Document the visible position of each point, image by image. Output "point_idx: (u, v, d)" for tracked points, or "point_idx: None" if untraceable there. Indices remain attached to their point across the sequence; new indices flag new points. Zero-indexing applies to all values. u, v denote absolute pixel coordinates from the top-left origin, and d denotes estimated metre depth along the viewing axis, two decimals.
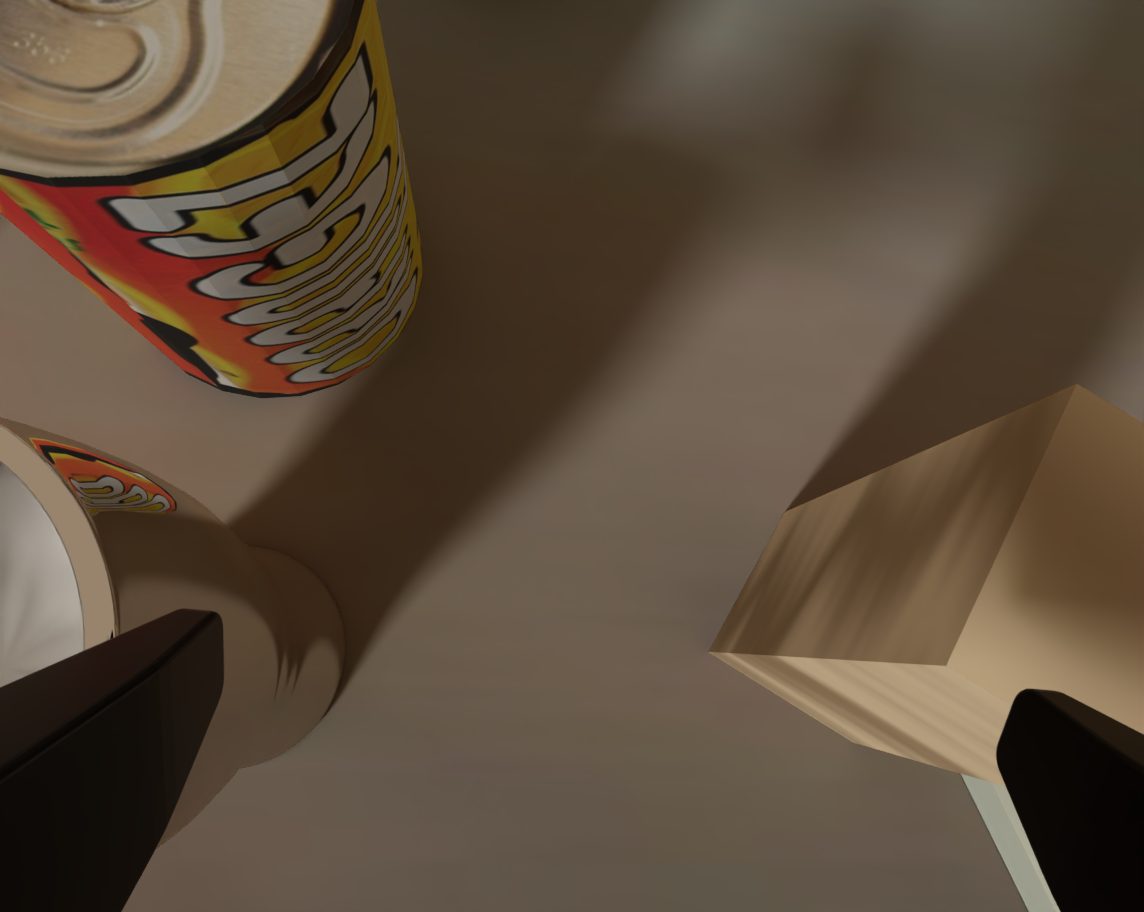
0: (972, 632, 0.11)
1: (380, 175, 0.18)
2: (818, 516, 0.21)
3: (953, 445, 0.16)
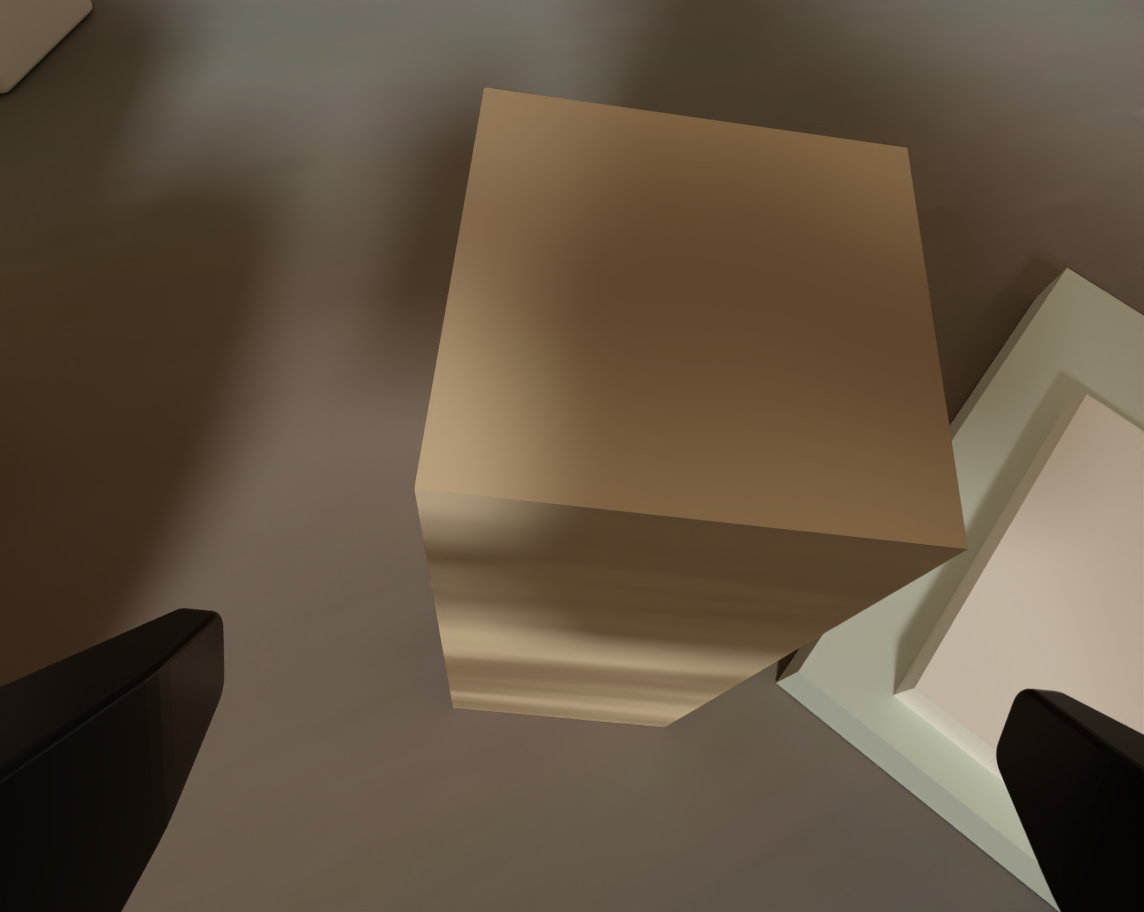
0: (440, 426, 0.07)
1: None
2: None
3: None
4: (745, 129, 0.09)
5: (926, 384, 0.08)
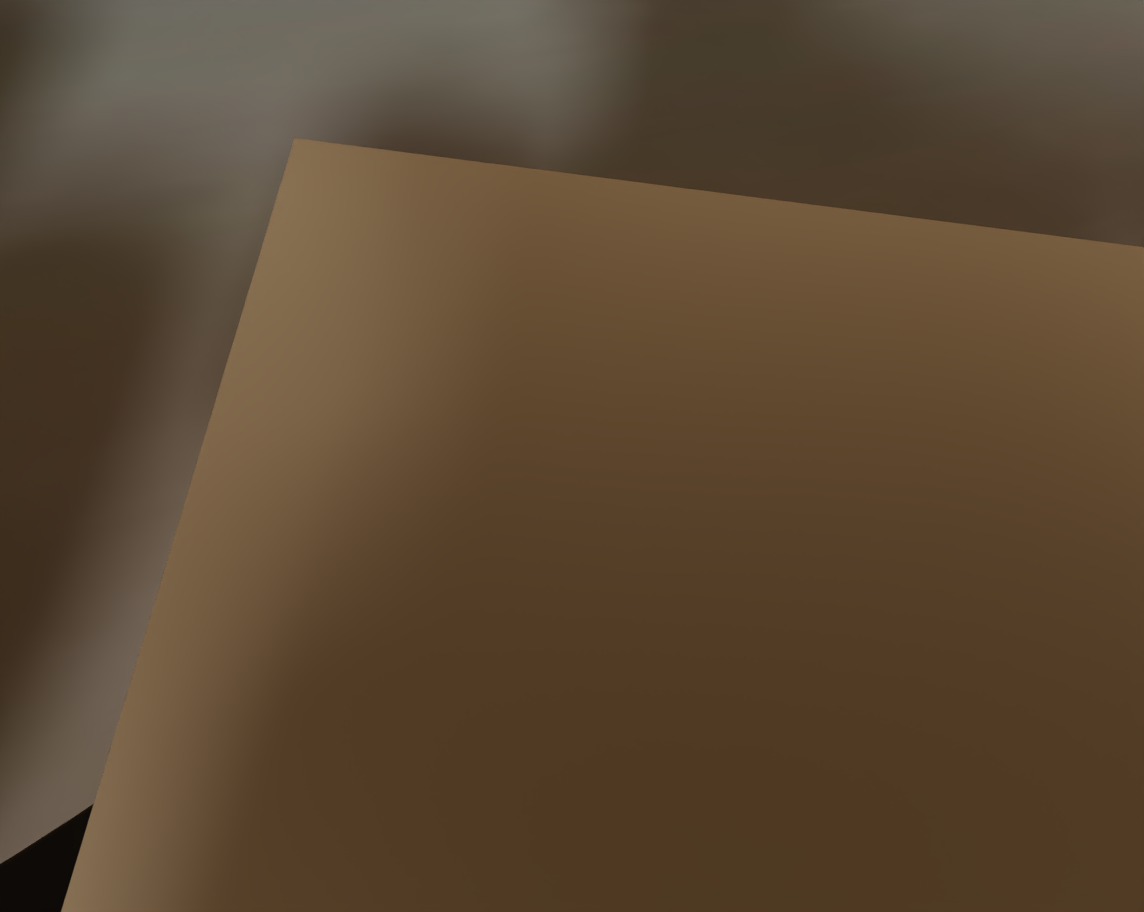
0: None
1: None
2: None
3: None
4: (962, 235, 0.04)
5: None
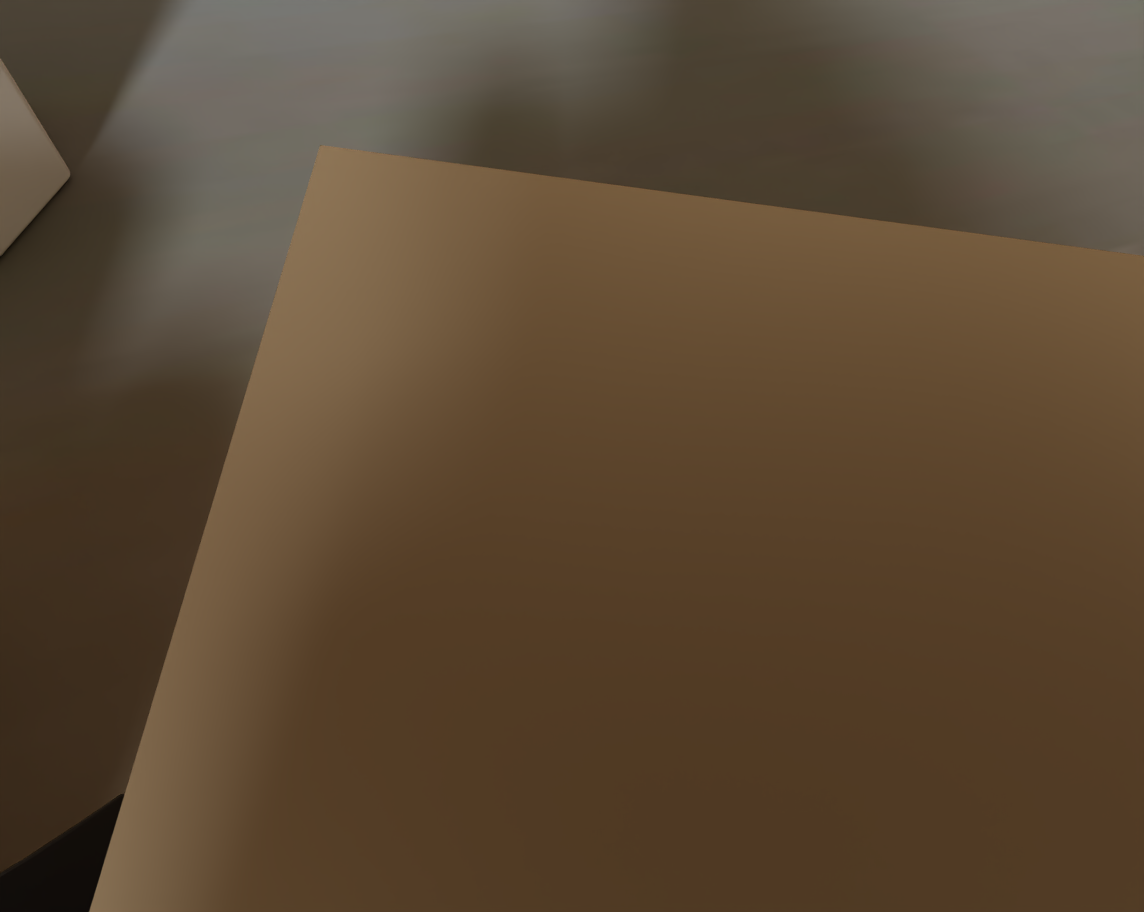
0: None
1: None
2: None
3: None
4: (963, 244, 0.04)
5: None
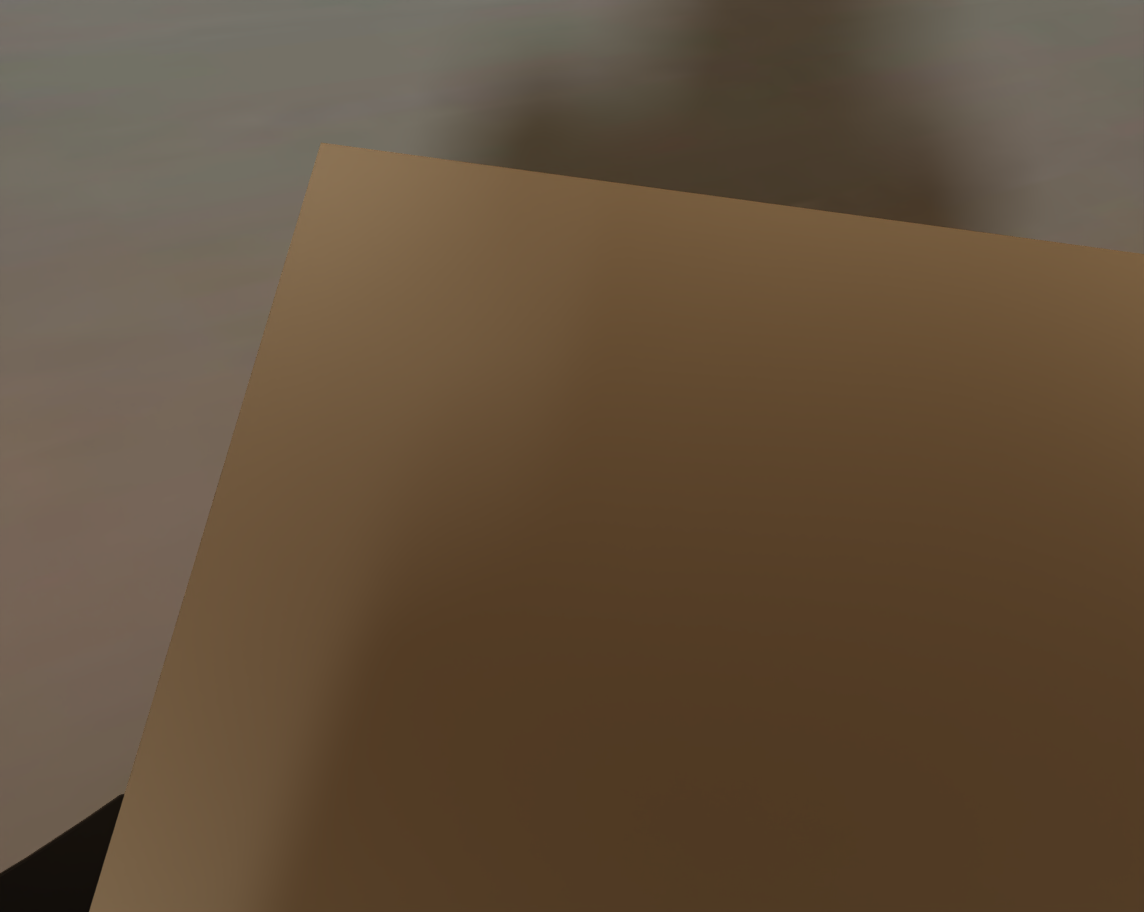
0: None
1: None
2: None
3: None
4: (961, 241, 0.04)
5: None
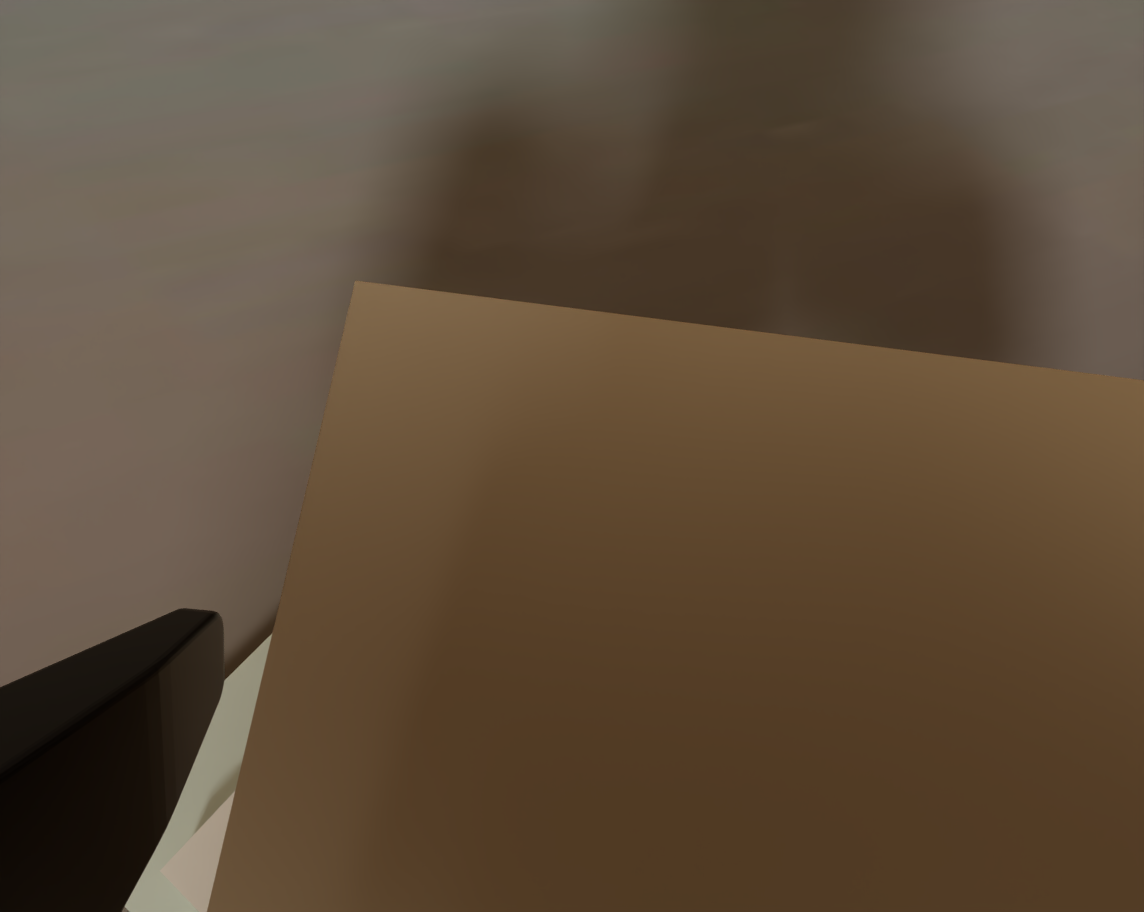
0: None
1: None
2: None
3: None
4: (899, 359, 0.04)
5: None
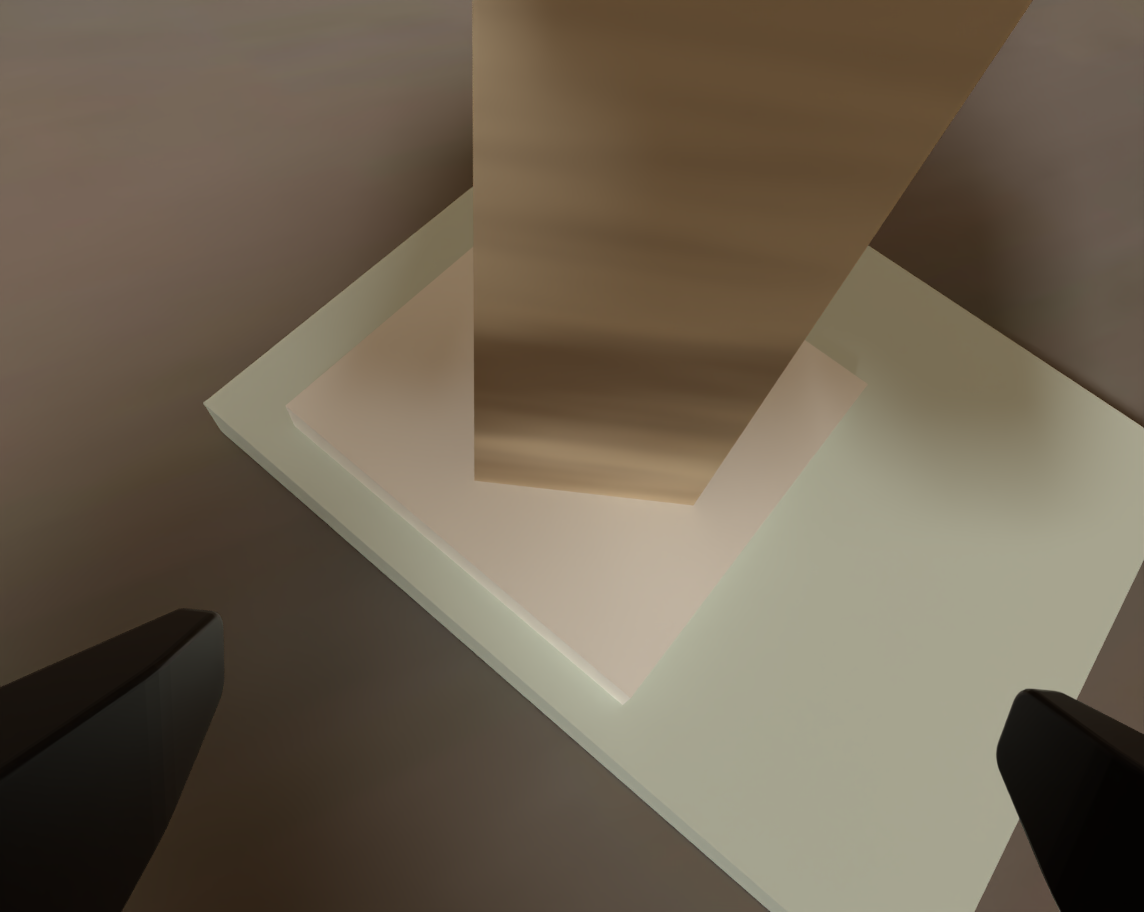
0: None
1: None
2: None
3: None
4: None
5: None
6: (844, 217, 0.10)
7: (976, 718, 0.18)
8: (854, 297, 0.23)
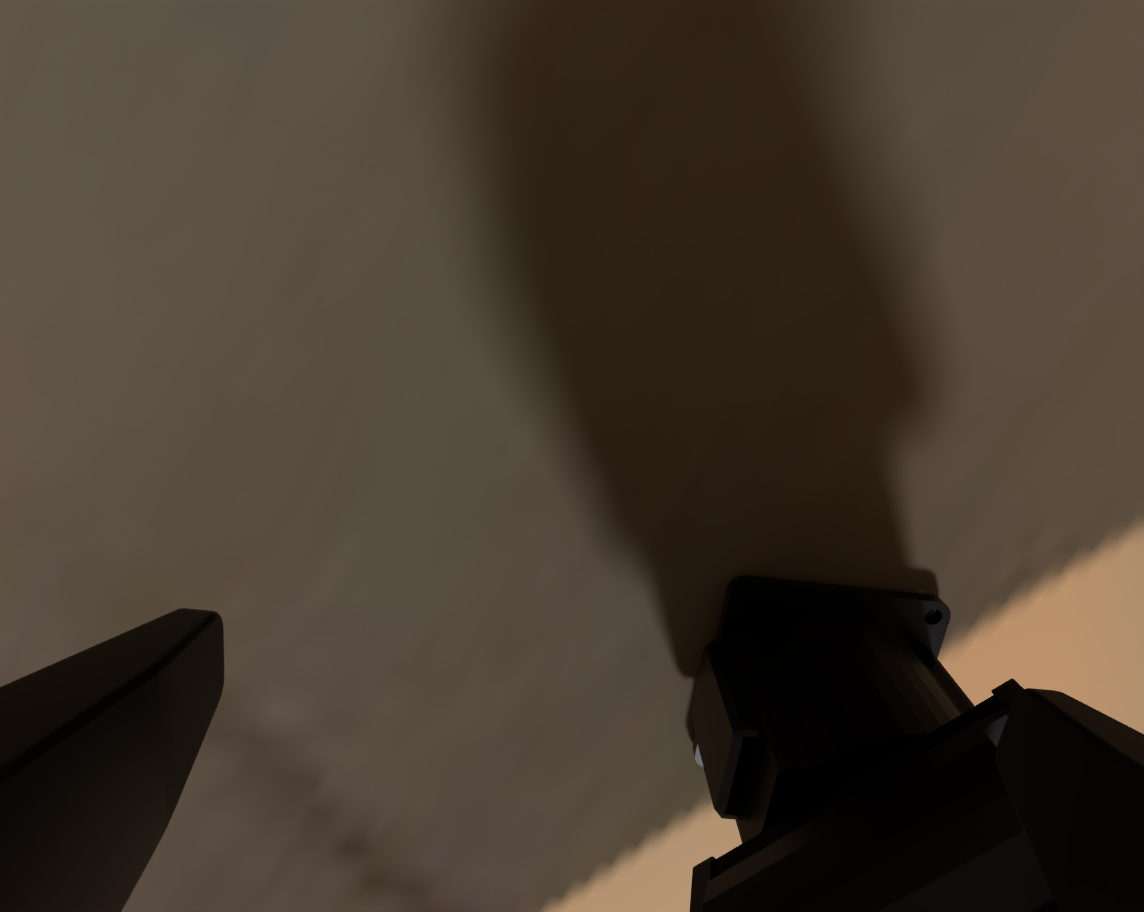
0: None
1: None
2: None
3: None
4: None
5: None
6: None
7: None
8: None
